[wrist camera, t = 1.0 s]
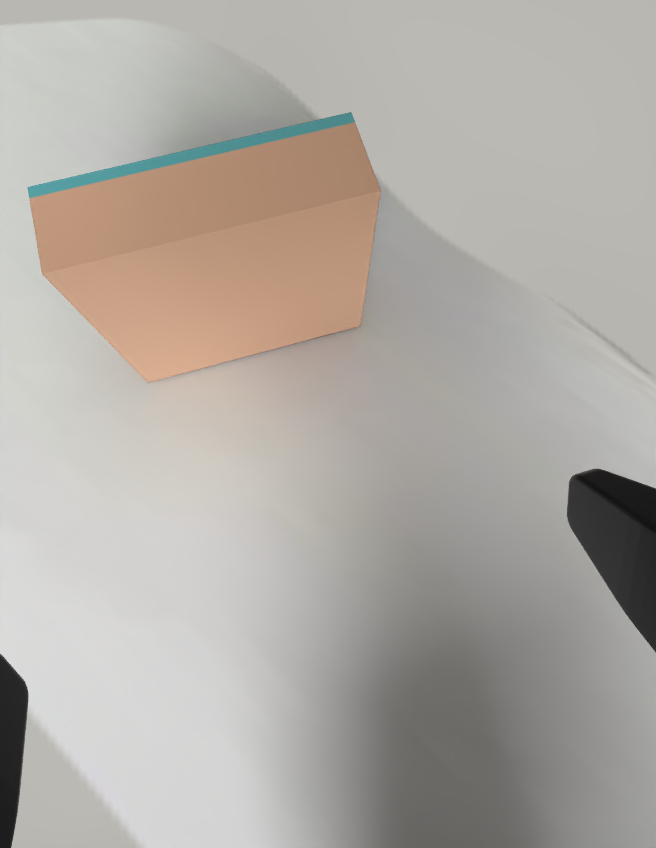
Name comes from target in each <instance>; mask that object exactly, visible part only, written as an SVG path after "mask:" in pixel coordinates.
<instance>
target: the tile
mask: <svg viewBox="0 0 656 848" xmlns="http://www.w3.org/2000/svg"><path fill="white" fill-rule="evenodd" d="M380 192H381V190H380V187H379V185H378V182H377V179H376V177H375V174H374V172H373V169H372V166H371V164H370V161H369V158H368V156H367V153H366V150H365V148H364V145H363V143H362V140H361V137H360V134H359V132H358V129H357V127H356V124H355V121H354V118H353V116H352V113H351V112H350V113H346V114H341V115H337V116H333V117H329V118H324V119H320V120H315V121H311V122H307V123H303V124H298V125H294V126H290V127H285V128H281V129H277V130H272V131H268V132H264V133H259V134H255V135H251V136H246V137H242V138H238V139H233V140H229V141H225V142H221V143H216V144H212V145H208V146H203V147H199V148H195V149H190V150H186V151H182V152H177V153H173V154H169V155H164V156H160V157H156V158H152V159H147V160H143V161H139V162H134V163H130V164H126V165H121V166H117V167H113V168H108V169H104V170H100V171H95V172H91V173H87V174H82V175H78V176H74V177H70V178H65V179H61V180H57V181H52V182H48V183H44V184H39V185H35V186H31V187H28V193H29V199H30V205H31V211H32V217H33V222H34V228H35V234H36V240H37V246H38V252H39V258H40V264H41V270H42V274H43V275H44V276H45V277H46V278H47V279H48V281H49V282H50V283H51V284H52V285H53V286H54V287H55V288H56V289H57V290H58V291H59V292H60V293H61V294H62V295H63V296H64V297H65V298H66V299H67V300H68V301H69V302H70V303H71V304H72V305H73V306H74V307H75V308H76V309H77V310H78V311H79V312H80V313H81V314H82V315H83V316H84V317H85V319H86V320H87V321H88V322H89V323H90V324H91V325H92V326H93V327H94V328H95V329H96V330H97V331H98V332H99V333H100V334H101V335H102V336H103V337H104V338H105V339H106V340H107V341H108V342H109V343H110V344H111V345H112V346H113V347H114V348H115V349H116V350H117V351H118V352H119V353H120V354H121V355H122V357H123V358H124V359H125V360H126V361H127V362H128V363H129V364H130V365H131V366H132V367H133V368H134V369H135V370H136V371H137V372H138V373H139V374H140V375H141V376H142V377H143V378H144V379H145V380H146V381H147V382H152V381H156V380H160V379H163V378H167V377H171V376H175V375H178V374H182V373H186V372H190V371H193V370H197V369H201V368H205V367H208V366H212V365H216V364H220V363H223V362H227V361H231V360H235V359H238V358H242V357H246V356H250V355H253V354H257V353H261V352H265V351H268V350H272V349H276V348H280V347H283V346H287V345H291V344H295V343H298V342H302V341H306V340H310V339H313V338H317V337H321V336H325V335H328V334H332V333H336V332H340V331H343V330H347V329H351V328H355V327H358V326H360V325H361V319H362V312H363V306H364V299H365V292H366V286H367V279H368V272H369V266H370V259H371V252H372V246H373V239H374V232H375V226H376V219H377V212H378V206H379V199H380Z"/></svg>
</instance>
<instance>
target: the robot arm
mask: <svg viewBox="0 0 656 848" xmlns="http://www.w3.org/2000/svg"><path fill="white" fill-rule="evenodd" d="M567 518H568V522H569V525H570V527H571V529H572V531H573V532H574V534H575V535H576V537H577V539H578V540H579V542H580V543H581V545H582V546H583V548H584V550H585V551H586V553H587V554H588V556H589V557H590V559H591V561H592V562H593V564H594V565H595V567H596V568H597V570H598V572H599V573H600V575H601V576H602V578H603V579H604V581H605V583H606V584H607V586H608V587H609V589H610V590H611V592H612V594H613V595H614V597H615V598H616V600H617V601H618V603H619V604H620V606H621V607H622V609H623V610H624V612H625V613H626V615H627V616H628V617H629V619H630V620H631V621H632V623H633V624H634V625H635V627H636V628H637V629H638V630H639V632H640V633H641V634H642V636H643V637H644V638H645V639H646V641H647V642H648V643H649V644H650V646H651V647H652V648H653V649H654V651H655V652H656V488H653V487H650V486H647V485H644V484H641V483H639V482H636V481H633V480H630V479H627V478H625V477H622V476H619V475H616V474H613V473H610V472H608V471H605V470H601V469H592V470H588V471H585V472H582V473H578V474H575V475H574V476H572V477H571V479H570V482H569V493H568V507H567ZM27 709H28V689H27V686H26V684H25V681H24V680H23V679H22V678H21V676H20V675H19V674H18V673H17V672H16V671H15V670H14V668H13V667H12V666H11V665H10V664H9V663H8V662H7V660H6V659H5V658H4V657H3V656H2V655H1V654H0V848H11V846H12V840H13V835H14V829H15V824H16V817H17V812H18V803H19V795H20V785H21V774H22V763H23V753H24V742H25V730H26V720H27Z"/></svg>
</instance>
